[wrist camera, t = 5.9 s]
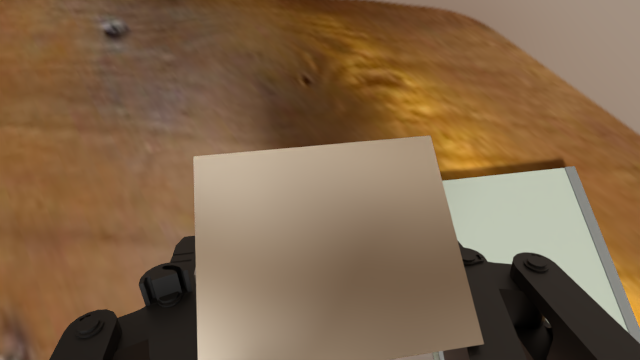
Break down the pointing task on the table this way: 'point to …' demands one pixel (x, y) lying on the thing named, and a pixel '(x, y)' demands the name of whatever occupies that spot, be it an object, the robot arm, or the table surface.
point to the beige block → (328, 254)
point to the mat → (539, 230)
